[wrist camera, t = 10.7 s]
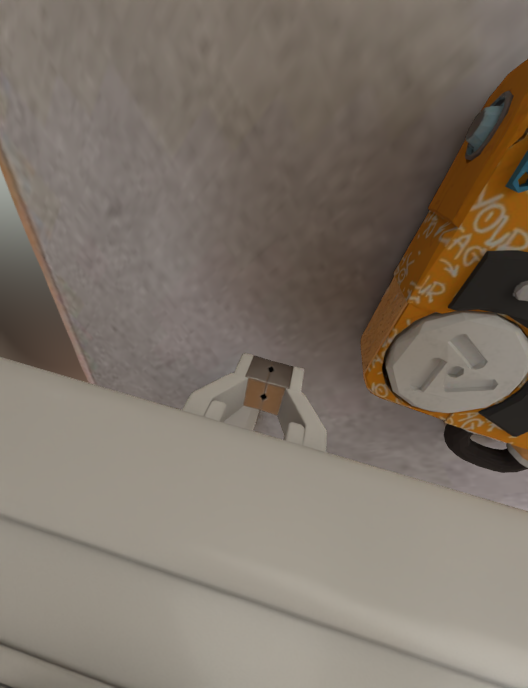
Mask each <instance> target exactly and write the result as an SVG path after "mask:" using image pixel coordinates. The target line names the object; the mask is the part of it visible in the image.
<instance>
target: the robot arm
mask: <svg viewBox="0 0 528 688" xmlns="http://www.w3.org/2000/svg"><path fill="white" fill-rule="evenodd" d="M303 375H304V369H303V368H299V367H293V366H290V365H286V364H282V363H278V362H275V361H271V360H268V359H265V358H261V357H258V356H254V355H251V354H247V353H243V354H242V357H241V359H240V361H239V363H238V365H237V367H236V370H235V372H234V374H232V373H230V374H228V375H226V376H224V377H222V378H220V379H218V380H216V381H214V382H212V383H210V384H208V385H206V386H204V387H202V388H200V389H198V390H196V391H194V392H192V394H191V395H190V397H189V399H188V400H187V402H186V404H185V405H184V407H183V408H182V410H179V409H176V408H172V407H169V406H165V405H162V404H158V403H155V402H152V401H148V400H145V399H141V398H138V397H134V396H131V395H128V394H124V393H121V392H117V391H114V390H111V389H107V388H104V387H100V386H97V385H93V384H90V383H87V382H83V381H80V380H76V379H73V378H69V377H66V376H63V375H59V374H56V373H52V372H49V371H46V370H42V369H39V368H35V367H32V366H29V365H25V364H22V363H18V362H15V361H12V360H9V359H5V358H2V357H0V688H528V511H525V510H521V509H518V508H514V507H511V506H508V505H504V504H501V503H497V502H494V501H490V500H487V499H484V498H480V497H477V496H473V495H470V494H466V493H463V492H460V491H456V490H453V489H449V488H446V487H443V486H439V485H436V484H432V483H429V482H425V481H422V480H419V479H415V478H412V477H408V476H405V475H401V474H398V473H395V472H391V471H388V470H384V469H381V468H378V467H374V466H371V465H367V464H364V463H360V462H357V461H354V460H350V459H347V458H343V457H340V456H336V455H333V454H329V453H326V443H327V431H326V429H325V427H324V426H323V424H322V422H321V421H320V419H319V418H318V416H317V414H316V413H315V411H314V409H313V408H312V406H311V404H310V403H309V401H308V399H307V398H306V396H305V394H304V393H301V389H302V382H303ZM243 406H247V407H251V408H254V409H258V410H262V411H265V412H268V413H271V414H275V415H278V416H277V417H278V419H279V422H280V425H281V427H282V430H283V433H284V435H285V436H284V439H283V440H282V439H278V438H275V437H272V436H268V435H265V434H261V433H258V432H254V431H251V430H248V429H244V428H241V427H237V426H234V425H230V424H227V423H224V421H225V420H226V419H227V418H228V417H230V416H231V415H232V414H234V413H235V412H236V411H238V410H239V409H240V408H242V407H243Z"/></svg>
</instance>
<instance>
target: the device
mask: <svg viewBox="0 0 528 688" xmlns="http://www.w3.org/2000/svg"><path fill="white" fill-rule="evenodd" d="M428 209H429V210H430V211H429V213H428V214H427V216H426V218H425V220H424V221H423V223H422V225H421V226H420V228H419V230H418V232H417V233H416V235H415V237H414V239H413V240H412V242H411V244H410V245H409V247H408V249H407V251H406V252H405V254H404V256H403V258H402V259H401V261H400V263H399V264H398V266H397V268H396V270H395V271H394V273H393V274H394V277H393V279H392V281H391V283H390V285H389V287H388V288H387V290H386V292H385V294H384V296H383V298H382V300H381V302H380V303H379V305H378V307H377V309H376V311H375V313H374V315H373V317H372V318H371V320H370V322H369V324H368V326H367V328H366V329H365V331H364V333H363V335H362V337H361V355H362V365H363V375H364V381H365V384H366V387H367V388H368V390H369V391H370V392H371V393H372V394H374V395H376V396H378V397H380V398H382V399H385V400H387V401H391V402H394V403H396V404H399V405H402V406H405V407H408V408H411V409H414V410H416V411H419V412H422V413H425V414H428V415H431V416H433V417H436V418H439V419H442V420H444V423H447V425H446V427H445V431H444V438H445V442H446V444H447V446H448V447H449V449H450V450H452V451H453V452H454V453H455V454H456V455H457V456H459V457H460V458H462V459H463V460H465V461H468V462H470V463H472V464H475V465H477V466H480V467H483V468H486V469H490V470H493V471H497V472H503V473H504V472H518V471H522V470H525V469H528V59H527V60H526V61H524V62H523V63H522V64H521V65H519V66H518V67H517V68H515V69H514V70H513V71H512V72H510V73H509V74H508V75H507V76H506V78H505V79H504V80H503V81H502V82H501V84H500V85H499V86H498V87H497V89H496V90H495V91H494V92H493V94H492V95H491V96H490V97H489V99H488V101H487V102H486V104H485V105H484V107H483V109H482V110H481V112H480V113H479V114H478V115H477V116H476V118H475V119H474V121H473V123H472V124H471V126H470V128H469V130H468V133H467V136H466V139H465V141H464V143H463V145H462V147H461V149H460V150H459V152H458V154H457V156H456V158H455V160H454V162H453V164H452V165H451V167H450V169H449V171H448V173H447V174H446V176H445V178H444V180H443V182H442V184H441V185H440V187H439V189H438V191H437V193H436V194H435V196H434V198H433V200H432V202H431V203H430V205H429V207H428ZM472 434H476V435H477V434H480V435H483V436H485V437H488V438H491V439H494V440H497V441H500V442H506V443H507V445H506V446H507V449H504V450H499V449H492V448H489V447H485V446H482V445H480V444H478V443H476V442H474V441H472V440H471V439H470V436H471V435H472Z"/></svg>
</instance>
